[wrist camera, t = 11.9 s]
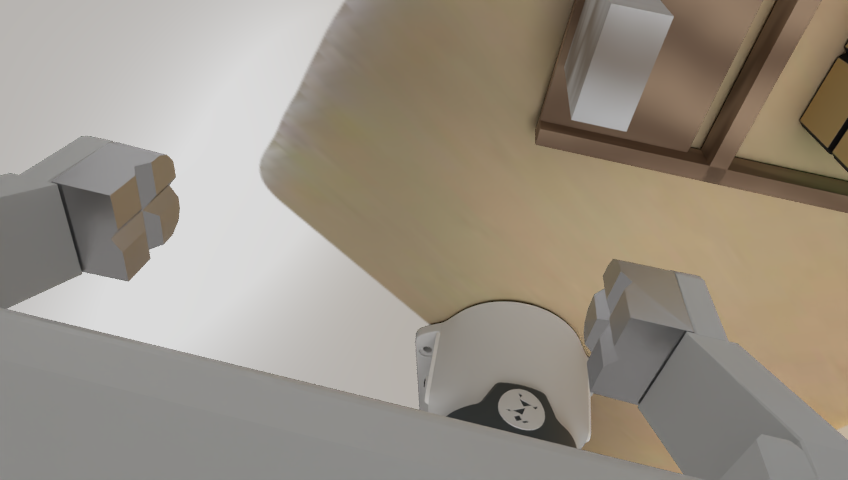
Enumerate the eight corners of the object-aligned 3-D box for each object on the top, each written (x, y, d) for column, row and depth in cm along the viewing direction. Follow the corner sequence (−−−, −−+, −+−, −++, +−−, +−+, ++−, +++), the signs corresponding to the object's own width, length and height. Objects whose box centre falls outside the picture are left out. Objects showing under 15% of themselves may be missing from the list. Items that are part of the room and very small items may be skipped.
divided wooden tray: (919, 213, 40) (1017, 306, 32) (535, 130, 41) (535, 198, 33) (1127, -33, 30) (1345, 9, 22) (615, -134, 31) (643, -130, 23)
